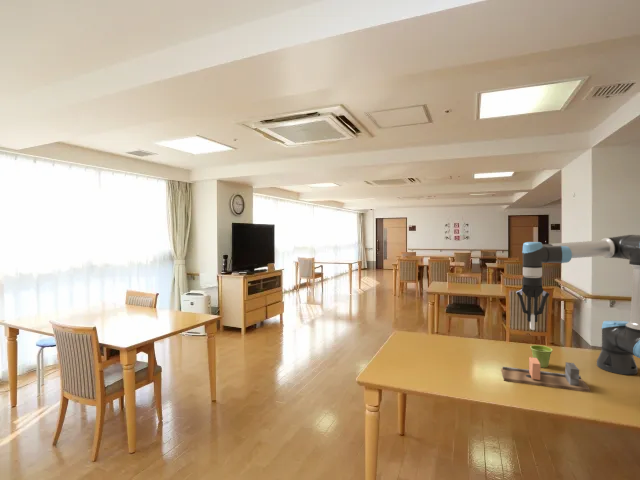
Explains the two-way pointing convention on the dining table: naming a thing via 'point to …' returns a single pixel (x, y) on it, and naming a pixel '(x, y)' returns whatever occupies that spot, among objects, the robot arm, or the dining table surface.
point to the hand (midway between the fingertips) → (532, 328)
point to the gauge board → (548, 378)
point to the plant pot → (541, 354)
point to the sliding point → (534, 368)
